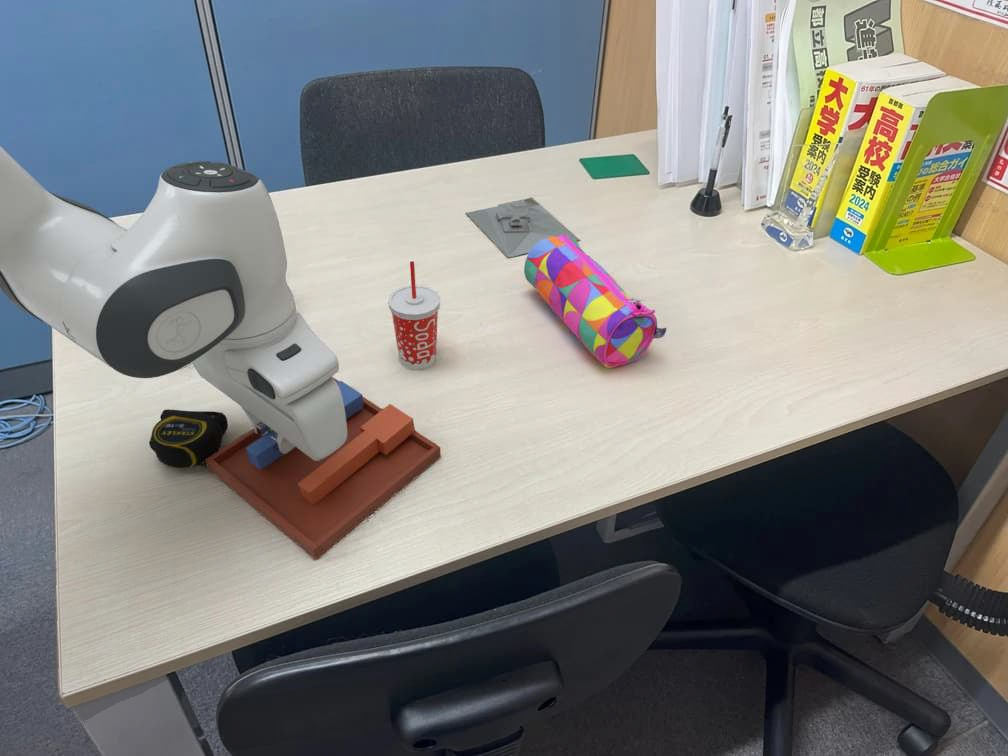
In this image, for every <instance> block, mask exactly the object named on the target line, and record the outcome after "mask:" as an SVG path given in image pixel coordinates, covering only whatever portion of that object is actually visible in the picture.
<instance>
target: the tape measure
mask: <svg viewBox="0 0 1008 756" xmlns="http://www.w3.org/2000/svg"><path fill="white" fill-rule="evenodd" d="M159 416H160V420H159V421H158V422H157V423H156V424H154V426H153V428H152V431H151V436H150V439H149V441H148V444H149V448H150V449H151V450H152V452H154V453H155V455H156V457H157V459H158V461H159V462H161V463H162V464H163V465H165V466H167V467H170V468H175V469H188V468H192V467H193V468H195V467H198V466H200V465H202V464H206V461H205V459H207V458H208V457H210V456H211V455H213V454H214V453H216V452H217V451H219V450H221V447H222V444H223V437H224V435H225V434H226V432H227V431H228V428H229V423H228V417H227V415H226V414H224V412H220V411H211V410H208V411H204V410H203V411H201V410H200V411H199V410H198V411H197V410H181V409H164V410H163V411H162V412H161V414H160V415H159Z"/></svg>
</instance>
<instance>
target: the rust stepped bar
mask: <svg viewBox="0 0 1008 756" xmlns="http://www.w3.org/2000/svg"><path fill="white" fill-rule="evenodd" d="M382 409H383V410H381V411H380V412H379V413H378V414H376V415H375V416H374V417H372V418H371V419H370V420H369V421H367V422H366V423H365V424H363V425H362V426H361V427H360V428H361V434H360V435H359V436H357V437H356V438H355V439H354V440H352V441H351V442H350V443H349V444H347V445H346V446H345V447H344V448H342V449H341V450H340V451H338V452H337V453H336V454H335V455H333V456H332V457H331V458H330V459H328V460H327V461H326V462H325V463H323V464H322V465H321V466H320V467H318V468H317V469H316V470H315V471H313V472H312V473H311V474H309V475H308V476H307V477H306V478H304V479H303V480H302V481H301V482H299V483H298V486H299V488H300V491H301V494H302V497H303V498H305V499H306V500H307V501H308V502H310V503H311V504H312V505H315V504H317V503H318V502H319V501H320V500H321V499H323V498H324V497H325V496H326V495H327V494H329V493H330V492H331V491H332V490H333V489H335V488H336V487H337V486H338V485H340V484H341V483H342V482H343V481H344V480H346V479H347V478H348V477H349V476H350V475H352V474H353V473H354V472H355V471H356V470H358V469H359V468H360V467H361V466H363V465H364V464H365V463H366V462H367V461H369V460H370V459H371V458H372V457H373V456H375V455H376V454H377V453H378V452H379V451H381V452H382V453H383V454H385V455H387V454H388V453H389V452H390V451H392V450H393V449H394V448H395V447H396V446H398V445H399V444H400V443H401V442H402V441H404V440H405V439H406V438H407V437H408V436H410V435H411V434H412V433H413V432H414V431H416V428H415V423H414V418H412V417H411V416H410V415H408V414H407V413H405V412H403V411H402V410H400V409H399V408H397V407H396V406H395V405H392V403H389V404H387V405H386V406H385V407H384V408H382Z"/></svg>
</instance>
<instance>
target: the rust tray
mask: <svg viewBox="0 0 1008 756" xmlns="http://www.w3.org/2000/svg"><path fill="white" fill-rule="evenodd" d="M333 378H334V379H335V381H336V382H337V383H338V382H339V381H340V380H338V379H336V377H333ZM362 397H363V405H364V407H363V408H362V409H360V410H359V411H358V412H356V413H355V414H353V415H352V416H350V417H349V418H347V419H346V423H347V439H346V441H345V443H344V444H343V445H342V446H341V447H340V448H338V449H337V450H336V451H335V452H333V453H332V454H330V455H329V456H327V457H325V458H324V459H322V460H320V461H315V460H313V459H311V458H310V457H309V456H307V455H306V454H305V453H303V452H302V451H301V450H299V449H298V448H297V447H295V448H294V449H292V450H291V451H289V452H288V453H286V454H284V455H282V456H281V457H279V458H278V459H276V460H275V461H273V462H272V463H270V464H269V465H267V466H266V467H264V468H263V469H262V470H259V469H258V468H257V467H256V466H254V465H253V464H252V463H251V462H250V460H249V457H248V453H247V450H246V447H248V446H249V445H251V444H252V443H254V442H255V441H257V440H258V439H260V438H261V437H260V436H259V435H258V434H256V433H255V431H254V428H252V429H250V430H249V431H247V432H246V433H244V434H242V435H241V436H239V437H238V438H236V439H235V440H233V441H232V442H230V443H228V444H227V445H226V446H224V447H222V448H220V449H219V451H217V452H216V453H214V454H213V455H211V456H210V457H208V458H207V459H205V461H206V462H205V464H206V467H207V471H209V472H210V473H212V474H213V475H214V476H215V477H216V478H218V479H219V480H220V481H221V482H222V483H224V484H225V485H226V486H227V487H228V488H230V489H231V490H232V491H233V492H234V493H235V494H236V495H238V496H239V497H240V498H241V499H242V500H243V501H245V502H246V503H248V505H250V507H252V508H253V509H255V511H257V512H258V513H259V514H261V516H263V517H264V518H265V519H266V520H268V521H269V522H270V523H271V524H273V526H275V527H276V528H277V529H278V530H279V531H281V532H282V533H283V534H284V535H285V536H286V537H288V539H290V540H291V541H293V543H295V544H296V545H297V546H299V548H301V549H302V550H303V551H304V552H306V553H307V554H308V555H309V556H310V557H311V558H313V559H314V560H317V559H319V558H320V557H321V556H322V555H323V554H324V553H326V552H327V551H329V550H330V549H331V548H332V547H333V546H334V545H336V544H337V543H338V542H339V541H340V540H342V538H344V537H345V536H346V535H348V534H349V533H350V532H352V531H353V530H354V529H355V528H357V527H358V526H359V525H361V523H363V521H365V520H366V519H367V518H368V517H369V516H371V515H372V514H374V513H375V512H376V511H377V510H378V509H380V508H381V507H382V506H383V505H385V504H386V503H387V502H388V501H389V500H390V499H392V498H393V497H394V496H395V495H397V493H399V492H400V491H402V490H403V489H404V488H405V487H406V486H407V485H409V484H410V483H411V482H412V481H413V480H415V479H416V478H417V477H418V476H419V475H421V474H422V473H424V471H426V470H427V469H428V468H429V467H430V466H432V465H433V464H434V463H435V462H436V461H438V460H439V459H440V458H441V456H442V455H441V446H439V445H438V444H436V443H435V442H433V441H432V440H431V439H429V438H427V437H426V436H424V435H423V434H422V433H420V432H418V431H416V430H415V431H414V432H413V433H412V434H411V435H410V436H408V437H407V438H406V439H405V440H404V441H402V442H401V443H400V444H399V445H398V446H396V447H395V448H394V449H393V450H392V451H390V452H389V453H388V454H387V455H385V454H383V453H382V452H381V451H379V452H378V453H377V454H376V455H375V456H373V457H372V458H371V459H370V460H369V461H367V462H366V463H365V464H364V465H363V466H361V467H360V468H359V469H358V470H356V471H355V472H354V473H353V474H352V475H350V476H349V477H348V478H347V479H346V480H344V481H343V482H342V483H341V484H340V485H338V486H337V487H336V488H335V489H333V490H332V491H331V492H330V493H329V494H327V495H326V496H325V497H324V498H323V499H321V500H320V501H319V502H318V503H317V504H315V505H312V504H311V503H310V502H308V501H307V500H306V499H305V498H303V497H302V494H301V491H300V488H299V486H298V483H299V482H301V481H302V480H303V479H304V478H306V477H307V476H308V475H309V474H311V473H312V472H313V471H315V470H316V469H317V468H318V467H320V466H321V465H322V464H323V463H325V462H326V461H327V460H328V459H330V458H331V457H332V456H333V455H335V454H336V453H337V452H338V451H340V450H341V449H342V448H344V447H345V446H346V445H347V444H349V443H350V442H351V441H352V440H354V439H355V438H356V437H357V436H359V435H360V434H361V428H360V427H361V426H362V425H363V424H365V423H366V422H367V421H369V420H370V419H371V418H372V417H374V416H375V415H376V414H378V413H379V412H380V411H381V410H383V409H384V408H381V407H379V406H378V405H376V404H375V403H374V402H372V401H370V400H369V399H367V398H366V397H364V396H363V395H362Z"/></svg>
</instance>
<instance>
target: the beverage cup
mask: <svg viewBox="0 0 1008 756" xmlns="http://www.w3.org/2000/svg"><path fill="white" fill-rule="evenodd" d="M409 268H410V284H408V285H404V286H400V287H397V288H396V289H394V290H393V291H392V292H391V293H390V294H389V295H388V300H387V304H388V308H389V311H390V313H391V317H392V323H393V329H394V335H395V340H396V341H395V342H396V348H397V354H398V360H399V362H400V364H401V365H402V366H403V367H405V368H406V369H409V370H414V371H415V370H416V371H421V370H426V369H428V368H430V367H432V366H433V365H434V364H435V362H436V360H437V342H438V320H439V319H438V318H439V317H438V316H439V313H438V312H439V310H440V309H441V296H440V294H439V292H438V291H437V290H436V289H434V288H432V287H430V286H428V285H423V284H416V271H415V269H416V268H415V261H412V260H411V261H409Z"/></svg>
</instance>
